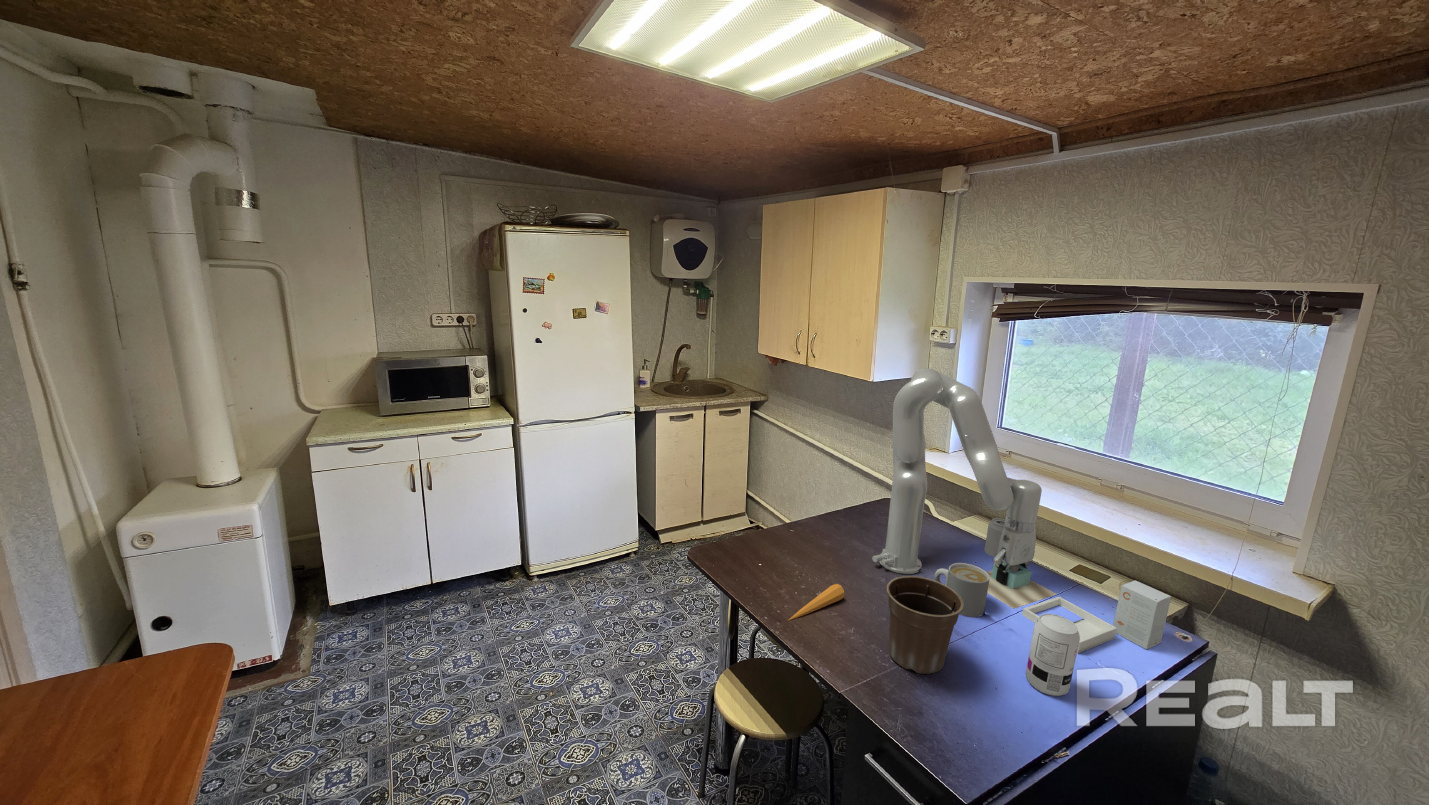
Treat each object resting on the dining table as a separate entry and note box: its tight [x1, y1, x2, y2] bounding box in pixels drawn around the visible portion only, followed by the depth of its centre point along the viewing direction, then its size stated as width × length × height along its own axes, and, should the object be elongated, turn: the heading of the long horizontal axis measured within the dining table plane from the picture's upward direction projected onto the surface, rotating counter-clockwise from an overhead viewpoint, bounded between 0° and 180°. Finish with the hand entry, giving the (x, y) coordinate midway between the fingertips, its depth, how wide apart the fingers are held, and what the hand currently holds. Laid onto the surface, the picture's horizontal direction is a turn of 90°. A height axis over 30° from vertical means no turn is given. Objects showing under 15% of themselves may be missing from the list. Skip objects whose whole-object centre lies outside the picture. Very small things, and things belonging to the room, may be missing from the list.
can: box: [983, 517, 1006, 560], centre depth 173 cm, size 8×8×12 cm
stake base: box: [986, 565, 1058, 610], centre depth 155 cm, size 18×16×6 cm
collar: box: [991, 562, 1032, 589], centre depth 158 cm, size 7×8×4 cm
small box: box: [1112, 580, 1172, 650], centre depth 135 cm, size 8×6×13 cm
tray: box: [1021, 596, 1117, 655], centre depth 138 cm, size 15×15×3 cm
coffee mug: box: [933, 562, 990, 618], centre depth 147 cm, size 13×10×10 cm
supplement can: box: [1025, 613, 1080, 697], centre depth 117 cm, size 8×8×15 cm
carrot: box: [787, 583, 845, 622], centre depth 144 cm, size 20×4×4 cm, turn 126°
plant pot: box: [886, 575, 964, 675], centre depth 125 cm, size 16×16×16 cm
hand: (1010, 579), depth 158 cm, fingers closed on collar, 7 cm apart
